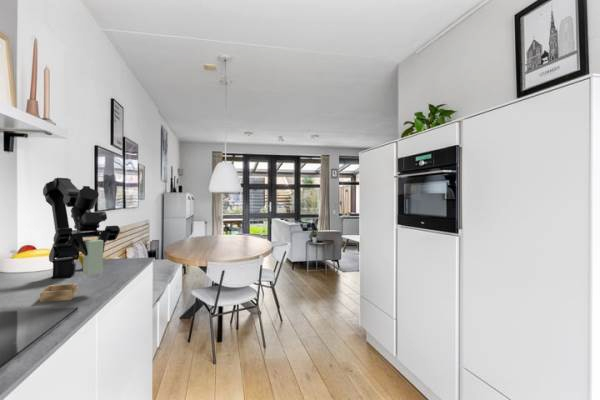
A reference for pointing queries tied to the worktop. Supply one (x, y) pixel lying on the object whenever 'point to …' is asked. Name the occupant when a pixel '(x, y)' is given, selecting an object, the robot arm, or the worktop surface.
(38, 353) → the worktop surface
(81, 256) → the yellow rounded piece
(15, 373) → the worktop surface
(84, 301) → the worktop surface
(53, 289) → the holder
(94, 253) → the post
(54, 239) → the robot arm
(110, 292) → the worktop surface
